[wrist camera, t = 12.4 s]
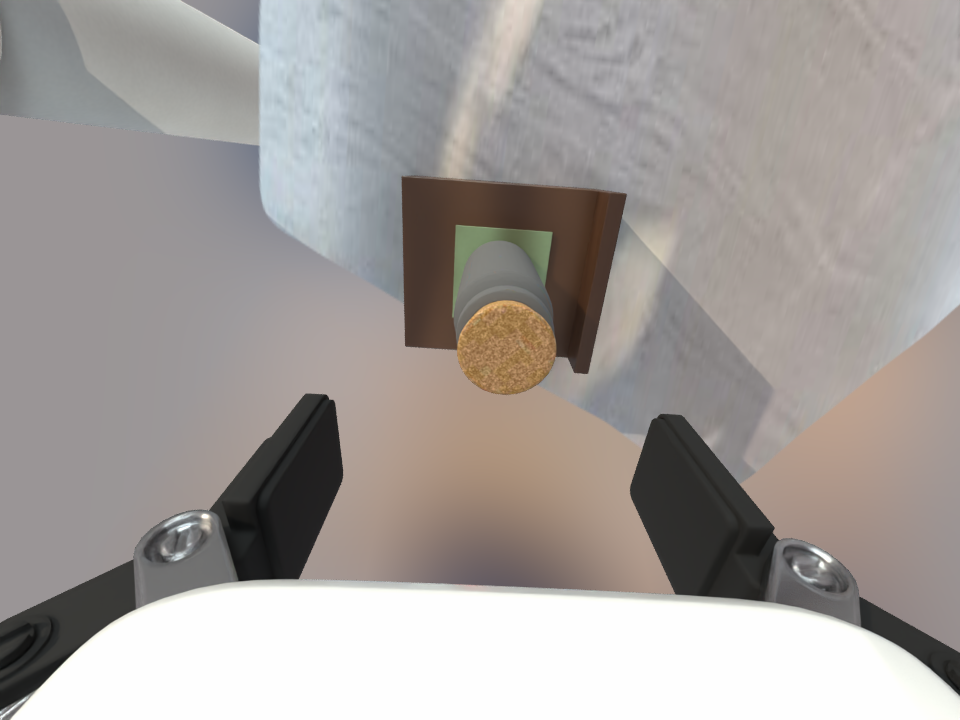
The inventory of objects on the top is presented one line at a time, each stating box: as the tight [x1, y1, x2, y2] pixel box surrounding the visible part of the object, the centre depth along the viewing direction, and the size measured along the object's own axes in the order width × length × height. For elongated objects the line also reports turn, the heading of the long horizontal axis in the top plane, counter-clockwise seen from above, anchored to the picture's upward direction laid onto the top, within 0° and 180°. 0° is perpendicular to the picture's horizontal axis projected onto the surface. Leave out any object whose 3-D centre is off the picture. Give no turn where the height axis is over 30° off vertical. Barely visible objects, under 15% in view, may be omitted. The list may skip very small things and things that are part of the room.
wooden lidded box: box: [402, 176, 627, 374], centre depth 33 cm, size 16×14×8 cm
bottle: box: [454, 241, 556, 395], centre depth 25 cm, size 6×6×15 cm
